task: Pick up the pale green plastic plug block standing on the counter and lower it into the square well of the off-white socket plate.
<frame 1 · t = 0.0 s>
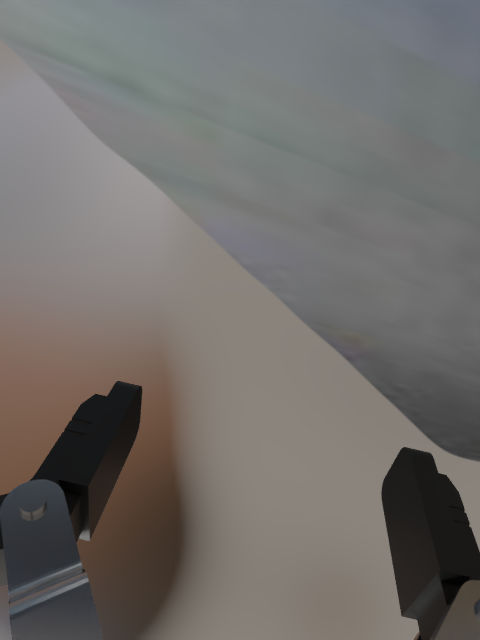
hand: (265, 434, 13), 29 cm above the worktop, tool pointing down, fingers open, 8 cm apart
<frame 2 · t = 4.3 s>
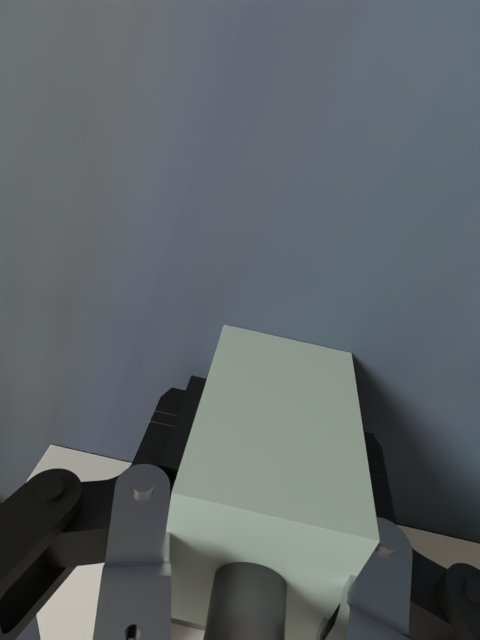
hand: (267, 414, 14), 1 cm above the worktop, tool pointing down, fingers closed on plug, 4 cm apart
plug: (270, 397, 14), on the worktop, touching gripper
socket plate: (254, 596, 21), on the worktop
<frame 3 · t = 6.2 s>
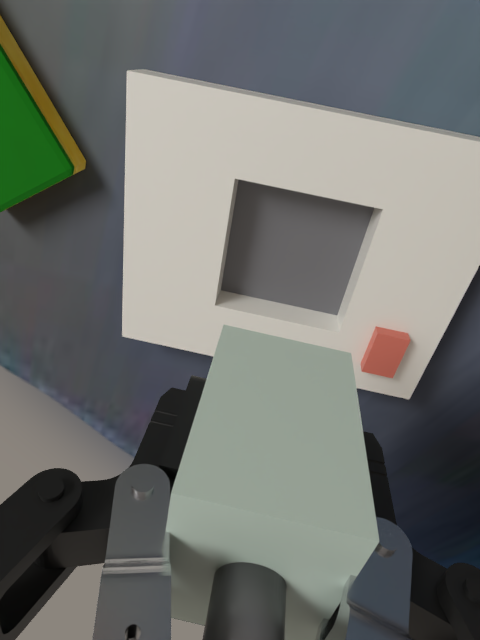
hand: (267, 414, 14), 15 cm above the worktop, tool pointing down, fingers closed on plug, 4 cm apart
plug: (269, 398, 14), point 15 cm above the worktop, touching gripper
socket plate: (292, 245, 27), on the worktop
when the fingers open (2 cm above the worktop, at t = 8.6 s): plug drops 1 cm, resting on socket plate.
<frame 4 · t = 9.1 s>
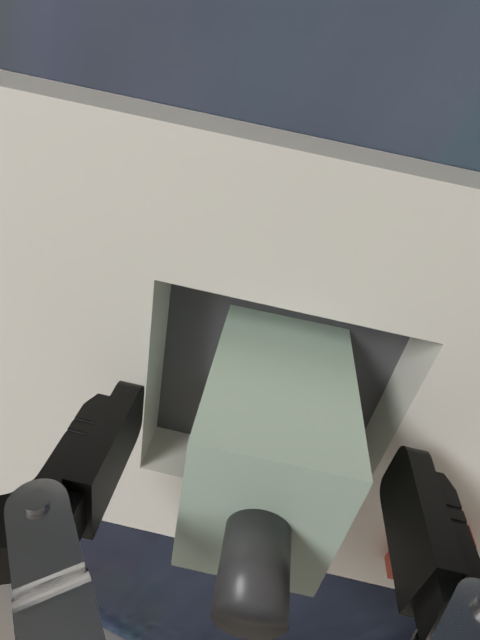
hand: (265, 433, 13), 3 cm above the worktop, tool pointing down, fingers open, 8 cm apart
plug: (274, 374, 15), resting on socket plate
socket plate: (272, 368, 16), on the worktop
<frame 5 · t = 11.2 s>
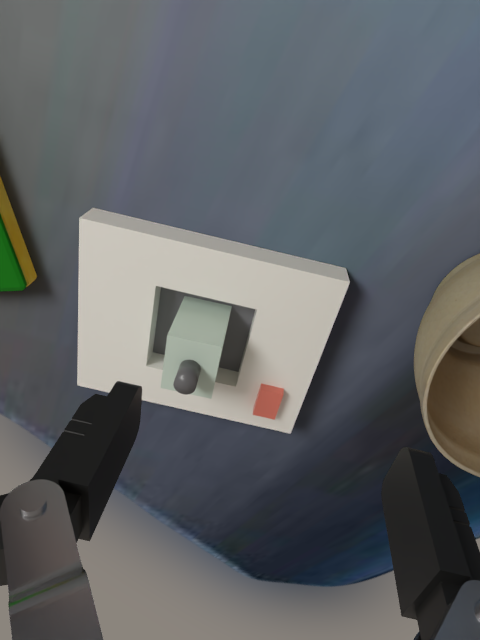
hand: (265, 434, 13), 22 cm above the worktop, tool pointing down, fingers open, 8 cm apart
plug: (203, 325, 37), resting on socket plate
socket plate: (203, 323, 37), on the worktop
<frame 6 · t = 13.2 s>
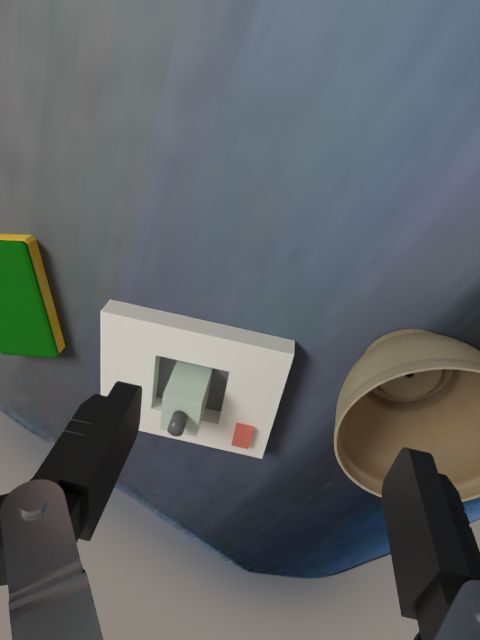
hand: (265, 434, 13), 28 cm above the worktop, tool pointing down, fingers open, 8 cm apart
planter bowl: (406, 364, 45), on the worktop
dish sponge: (24, 292, 47), on the worktop
plug: (193, 379, 49), resting on socket plate
socket plate: (193, 377, 49), on the worktop
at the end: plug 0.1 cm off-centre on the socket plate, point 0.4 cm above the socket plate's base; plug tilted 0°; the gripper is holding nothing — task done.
